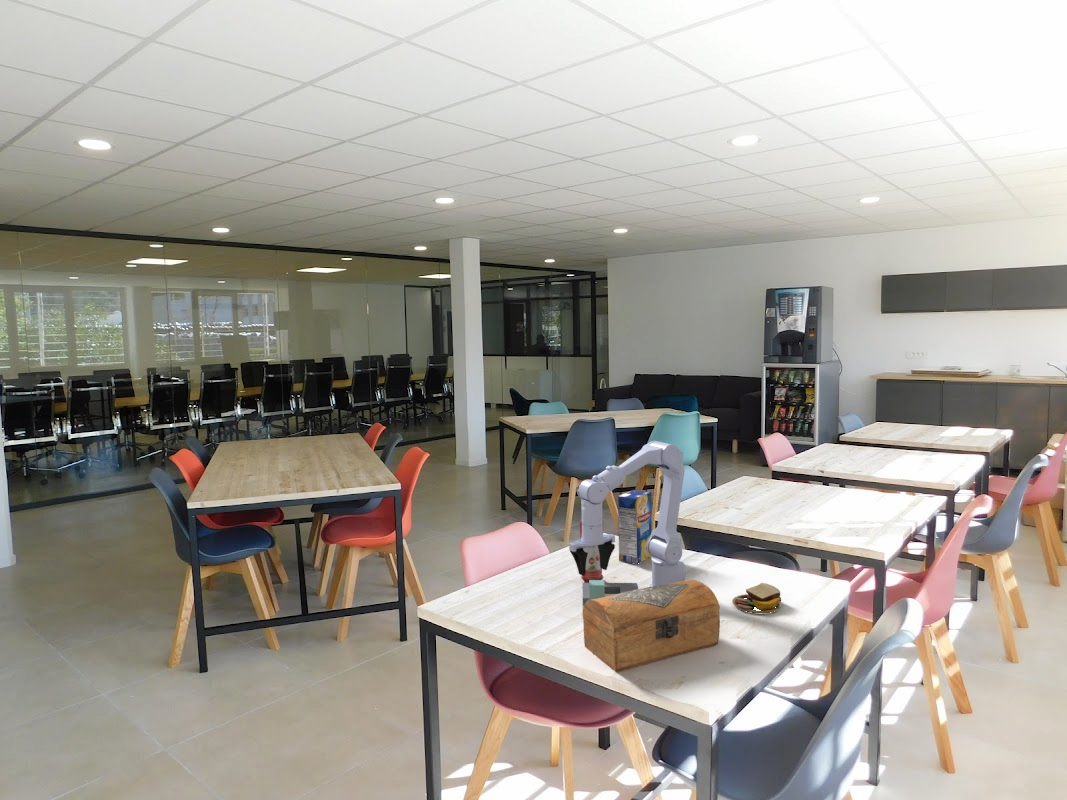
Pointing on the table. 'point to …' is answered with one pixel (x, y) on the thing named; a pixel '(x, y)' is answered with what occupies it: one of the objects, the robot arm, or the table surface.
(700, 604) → the wooden box
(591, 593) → the teal block
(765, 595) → the toy sandwich meal
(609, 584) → the pocket board
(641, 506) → the beverage box
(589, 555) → the liquor
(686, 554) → the table surface
